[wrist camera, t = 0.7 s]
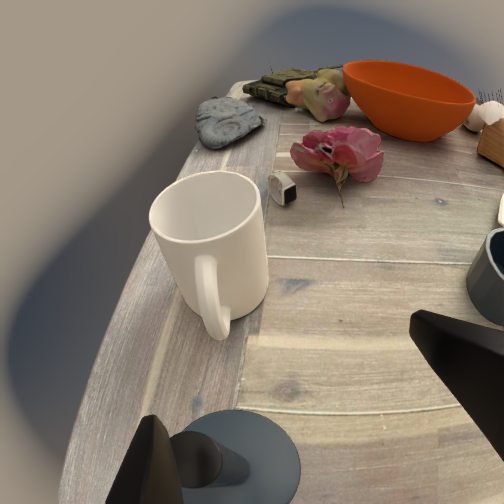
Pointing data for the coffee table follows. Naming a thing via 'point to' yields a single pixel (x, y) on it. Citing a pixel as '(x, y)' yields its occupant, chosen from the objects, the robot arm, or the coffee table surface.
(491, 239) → the tin
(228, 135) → the fossil
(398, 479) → the coffee table surface
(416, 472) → the coffee table surface
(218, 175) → the mug
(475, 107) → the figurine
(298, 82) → the sculpture
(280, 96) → the toy tank
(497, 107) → the pincushion
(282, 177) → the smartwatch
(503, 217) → the plate
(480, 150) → the wooden block
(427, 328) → the robot arm
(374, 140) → the flower
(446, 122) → the bowl
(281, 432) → the lid
